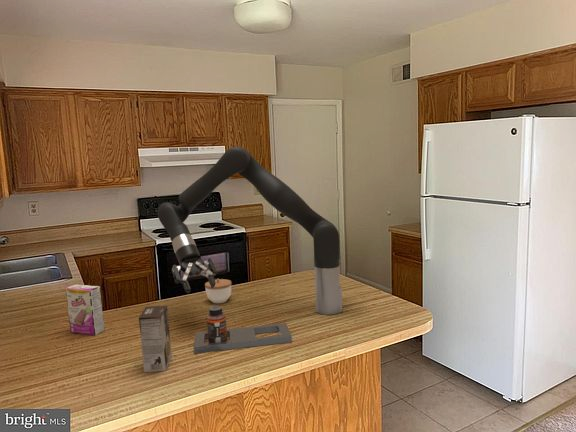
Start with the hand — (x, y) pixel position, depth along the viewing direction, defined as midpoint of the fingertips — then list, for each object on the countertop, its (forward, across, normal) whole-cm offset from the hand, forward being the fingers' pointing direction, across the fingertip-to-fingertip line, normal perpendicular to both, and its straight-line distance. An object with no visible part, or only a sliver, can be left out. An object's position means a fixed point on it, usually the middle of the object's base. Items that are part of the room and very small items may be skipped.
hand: (201, 289), depth 144 cm
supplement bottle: (+18, 0, +4) cm, 18 cm away
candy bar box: (-10, -31, +32) cm, 46 cm away
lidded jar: (-9, +19, +31) cm, 37 cm away
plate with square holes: (+20, +7, +2) cm, 21 cm away
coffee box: (+19, -20, +3) cm, 28 cm away
